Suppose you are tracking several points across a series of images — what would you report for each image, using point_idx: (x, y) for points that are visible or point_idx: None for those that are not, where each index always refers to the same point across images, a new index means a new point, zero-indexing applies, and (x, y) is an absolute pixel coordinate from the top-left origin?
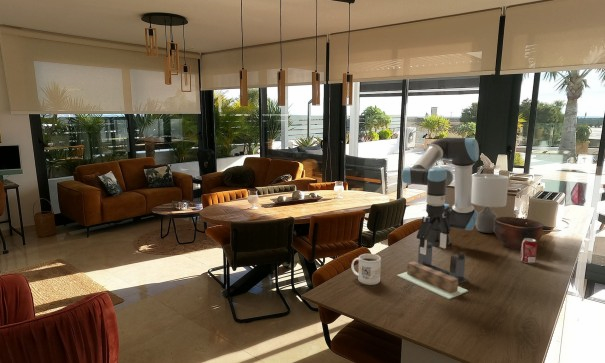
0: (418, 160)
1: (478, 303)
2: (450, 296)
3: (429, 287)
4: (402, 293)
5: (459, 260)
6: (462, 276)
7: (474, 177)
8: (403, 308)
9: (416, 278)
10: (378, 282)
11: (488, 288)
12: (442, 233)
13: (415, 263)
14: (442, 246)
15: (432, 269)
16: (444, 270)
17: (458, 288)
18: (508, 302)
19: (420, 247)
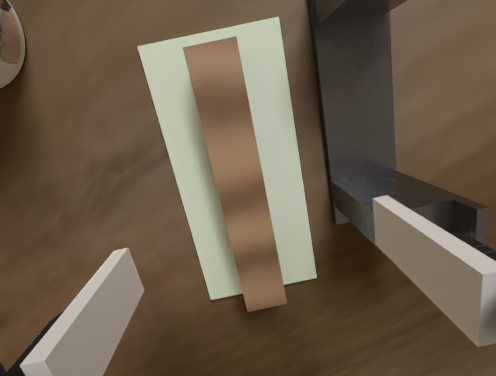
0: None
1: (278, 339)
2: (224, 293)
3: (200, 215)
4: (73, 209)
5: None
6: None
7: None
8: (23, 296)
9: None
10: (2, 86)
11: (398, 279)
12: (490, 297)
13: (224, 75)
14: (379, 229)
15: (255, 185)
16: (387, 102)
17: (297, 257)
18: (363, 357)
19: (89, 286)
